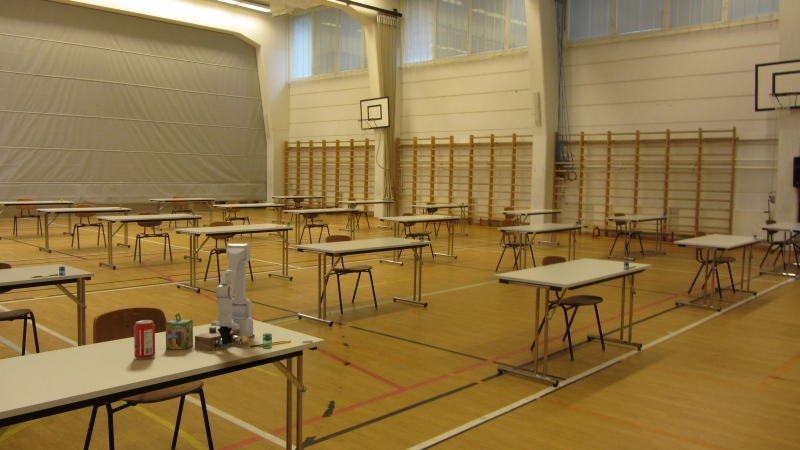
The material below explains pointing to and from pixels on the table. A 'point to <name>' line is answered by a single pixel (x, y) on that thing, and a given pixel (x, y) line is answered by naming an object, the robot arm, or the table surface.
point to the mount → (212, 340)
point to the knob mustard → (239, 339)
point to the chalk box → (179, 333)
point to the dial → (212, 329)
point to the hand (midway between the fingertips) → (225, 343)
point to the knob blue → (219, 342)
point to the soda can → (144, 339)
